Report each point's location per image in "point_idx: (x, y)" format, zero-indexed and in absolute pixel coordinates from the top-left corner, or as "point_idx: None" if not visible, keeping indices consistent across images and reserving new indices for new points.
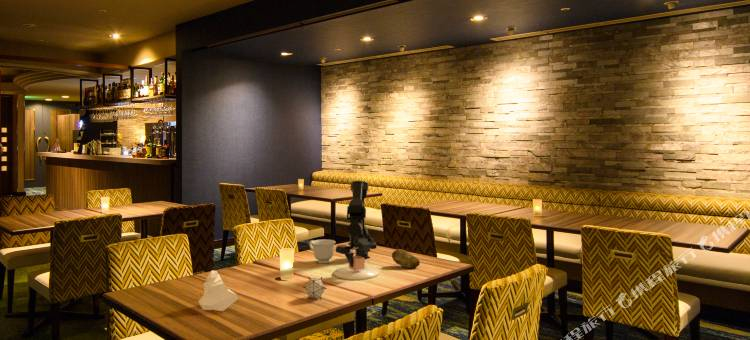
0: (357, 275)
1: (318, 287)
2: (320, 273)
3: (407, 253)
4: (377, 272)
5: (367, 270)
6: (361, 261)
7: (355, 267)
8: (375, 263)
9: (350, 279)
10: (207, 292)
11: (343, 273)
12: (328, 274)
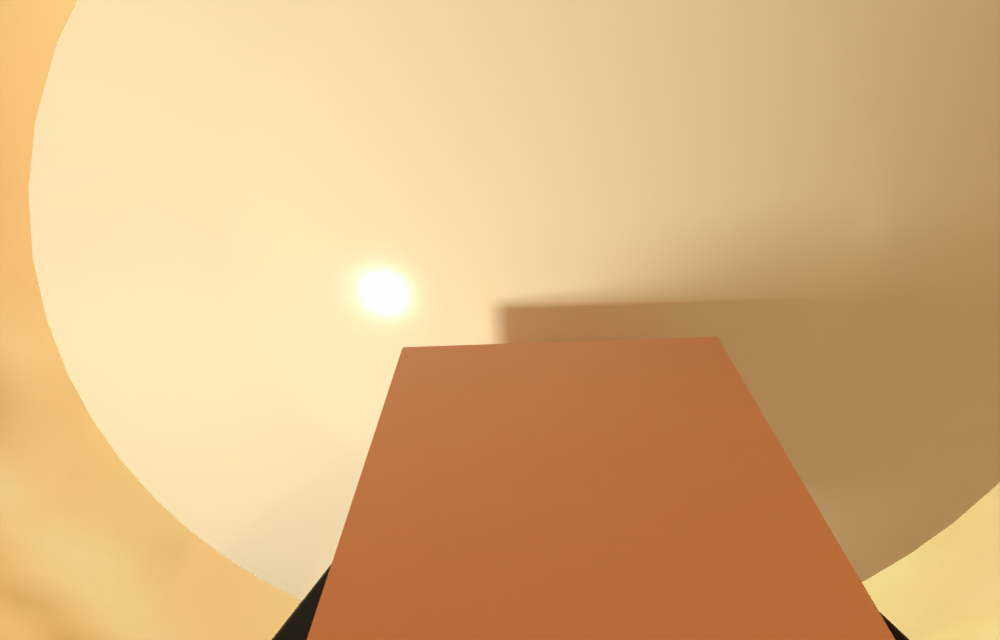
0: (830, 73)
1: None
2: (933, 631)
3: None
4: (116, 4)
5: (315, 338)
6: (500, 533)
7: (745, 390)
8: (27, 620)
9: None
10: None
11: (888, 419)
12: (913, 562)
